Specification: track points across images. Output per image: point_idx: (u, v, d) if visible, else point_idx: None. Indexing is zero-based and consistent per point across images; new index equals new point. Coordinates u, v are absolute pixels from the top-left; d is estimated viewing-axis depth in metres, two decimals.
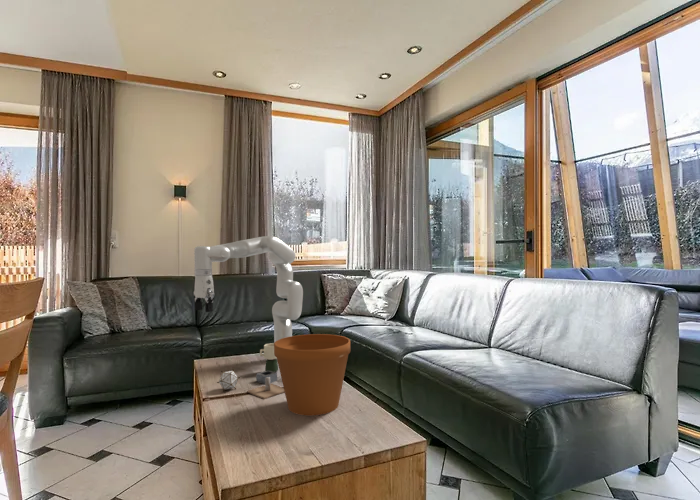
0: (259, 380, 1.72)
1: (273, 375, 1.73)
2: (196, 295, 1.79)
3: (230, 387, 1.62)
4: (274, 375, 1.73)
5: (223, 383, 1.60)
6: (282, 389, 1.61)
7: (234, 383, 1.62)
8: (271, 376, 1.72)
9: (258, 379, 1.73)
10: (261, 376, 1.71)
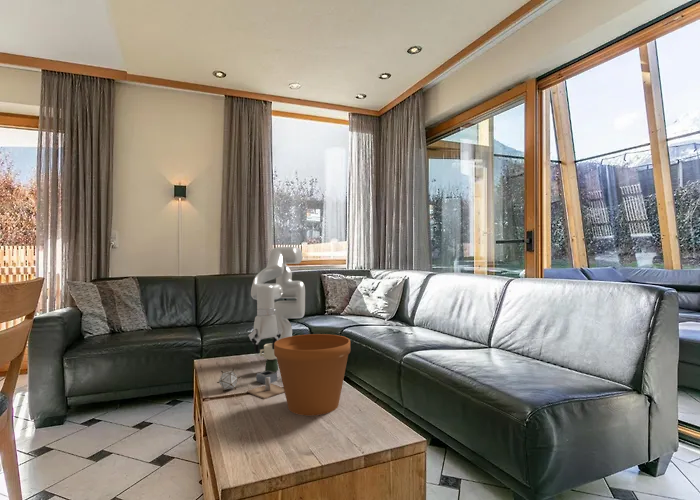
0: (259, 380, 1.72)
1: (273, 375, 1.73)
2: (264, 336, 1.71)
3: (230, 387, 1.62)
4: (274, 375, 1.73)
5: (222, 383, 1.60)
6: (282, 389, 1.61)
7: (234, 383, 1.62)
8: (271, 376, 1.72)
9: (258, 379, 1.73)
10: (261, 376, 1.71)
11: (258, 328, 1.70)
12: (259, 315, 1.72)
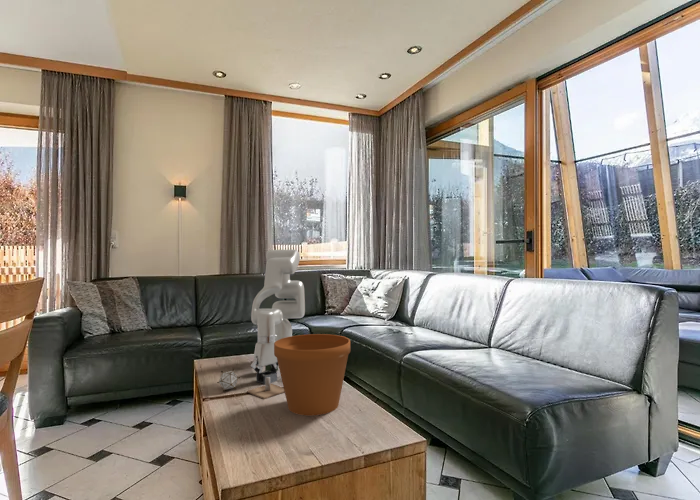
0: None
1: (273, 375, 1.73)
2: (264, 363, 1.71)
3: (230, 387, 1.62)
4: (274, 375, 1.73)
5: (223, 383, 1.60)
6: (282, 389, 1.61)
7: (234, 383, 1.62)
8: (271, 376, 1.72)
9: None
10: None
11: (258, 356, 1.70)
12: (259, 342, 1.71)
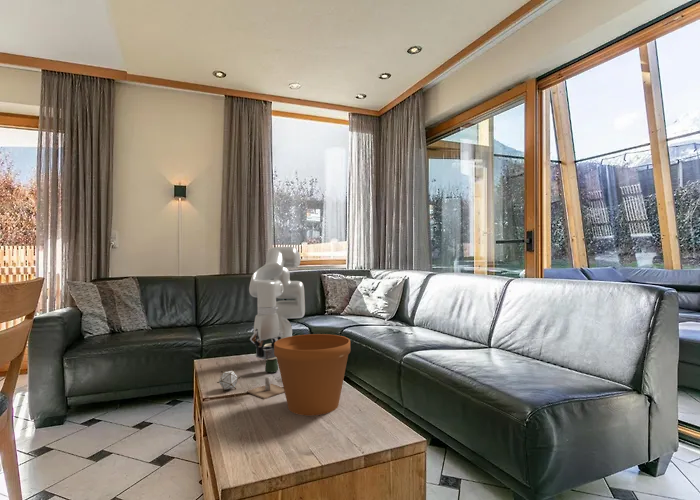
0: None
1: None
2: (265, 337, 1.57)
3: (230, 387, 1.62)
4: None
5: (223, 383, 1.60)
6: (282, 389, 1.61)
7: (234, 383, 1.62)
8: (272, 351, 1.58)
9: None
10: None
11: (258, 329, 1.56)
12: (260, 314, 1.58)
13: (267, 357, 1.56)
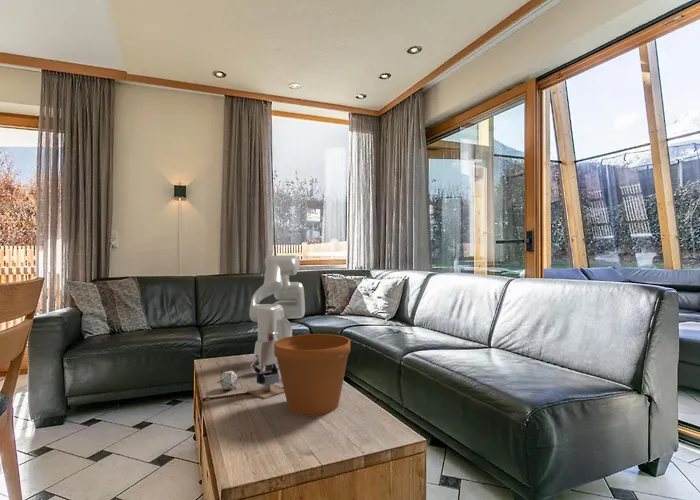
0: None
1: (275, 376, 1.59)
2: (265, 363, 1.57)
3: (230, 387, 1.62)
4: (276, 376, 1.59)
5: (223, 383, 1.60)
6: (282, 389, 1.61)
7: (234, 383, 1.62)
8: (272, 377, 1.58)
9: None
10: None
11: (259, 355, 1.56)
12: (260, 340, 1.58)
13: (267, 383, 1.56)
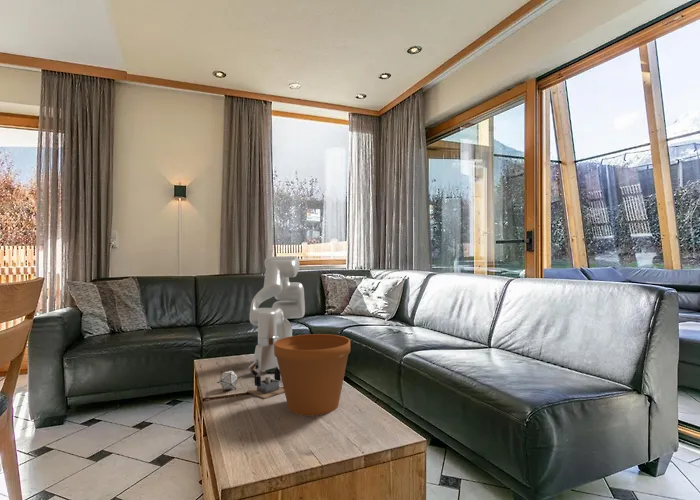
0: (260, 389, 1.58)
1: (275, 384, 1.59)
2: (265, 367, 1.57)
3: (230, 387, 1.62)
4: (276, 384, 1.59)
5: (223, 383, 1.60)
6: (282, 389, 1.61)
7: (234, 383, 1.62)
8: (273, 385, 1.58)
9: (258, 388, 1.59)
10: (262, 385, 1.57)
11: (259, 359, 1.56)
12: (260, 344, 1.58)
13: (267, 391, 1.56)
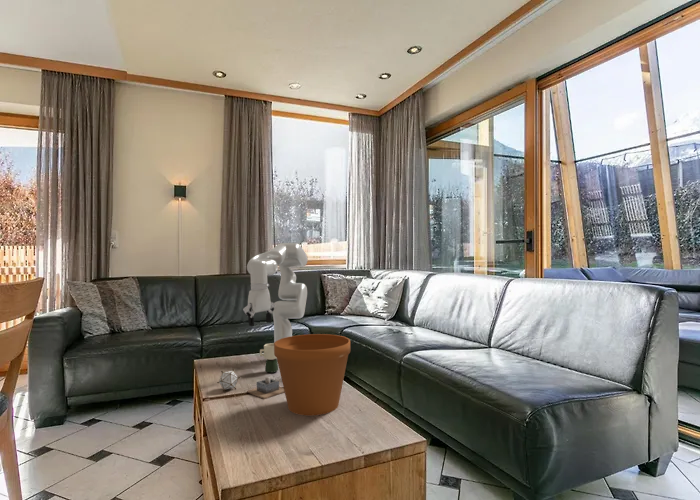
0: (260, 389, 1.58)
1: (275, 384, 1.59)
2: (258, 310, 1.78)
3: (230, 387, 1.62)
4: (276, 384, 1.59)
5: (223, 383, 1.60)
6: (282, 389, 1.61)
7: (234, 383, 1.62)
8: (273, 385, 1.58)
9: (258, 388, 1.59)
10: (262, 385, 1.57)
11: (252, 302, 1.76)
12: (253, 290, 1.78)
13: (267, 391, 1.56)
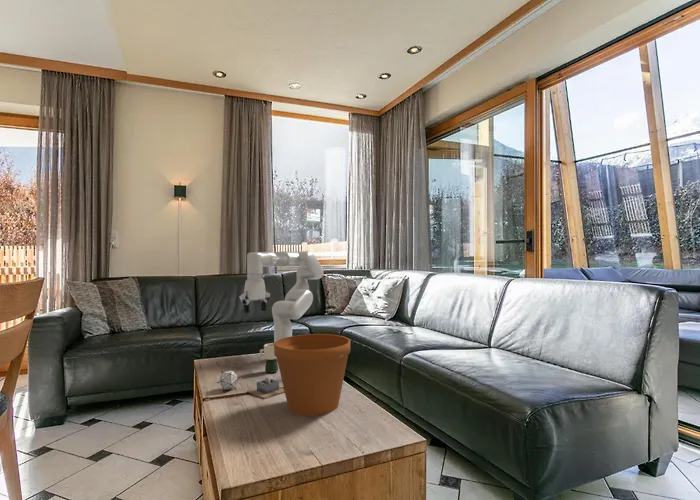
0: (260, 389, 1.58)
1: (275, 384, 1.59)
2: (253, 298, 1.91)
3: (230, 387, 1.62)
4: (276, 384, 1.59)
5: (223, 383, 1.60)
6: (282, 389, 1.61)
7: (234, 383, 1.62)
8: (273, 385, 1.58)
9: (258, 388, 1.59)
10: (262, 385, 1.57)
11: (248, 291, 1.90)
12: (249, 279, 1.91)
13: (267, 391, 1.56)
